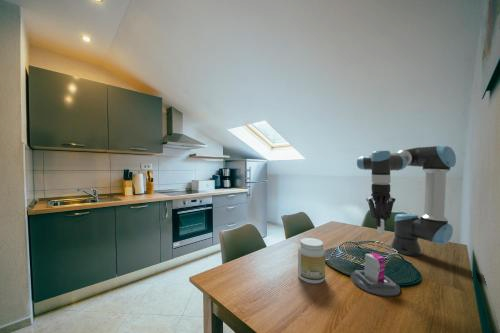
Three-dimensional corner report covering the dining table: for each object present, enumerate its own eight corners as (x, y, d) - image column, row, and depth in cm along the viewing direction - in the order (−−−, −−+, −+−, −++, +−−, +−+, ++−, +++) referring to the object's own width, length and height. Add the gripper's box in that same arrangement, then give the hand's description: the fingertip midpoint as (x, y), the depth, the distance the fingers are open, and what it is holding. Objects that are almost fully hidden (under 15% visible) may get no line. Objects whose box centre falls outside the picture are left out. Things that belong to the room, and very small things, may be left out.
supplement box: (376, 286, 89) (377, 259, 89) (363, 279, 94) (364, 254, 94) (384, 282, 91) (385, 257, 91) (372, 276, 97) (372, 251, 97)
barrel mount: (380, 272, 103) (380, 266, 103) (411, 296, 84) (412, 289, 84) (343, 272, 102) (343, 266, 102) (366, 296, 83) (366, 289, 83)
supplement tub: (330, 282, 93) (331, 245, 93) (306, 286, 89) (307, 247, 89) (314, 269, 104) (315, 236, 104) (293, 272, 101) (293, 238, 101)
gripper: (388, 182, 101) (388, 230, 102) (362, 183, 101) (362, 231, 101) (400, 184, 94) (400, 235, 94) (372, 184, 93) (372, 236, 94)
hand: (380, 233), depth 98 cm, fingers closed
